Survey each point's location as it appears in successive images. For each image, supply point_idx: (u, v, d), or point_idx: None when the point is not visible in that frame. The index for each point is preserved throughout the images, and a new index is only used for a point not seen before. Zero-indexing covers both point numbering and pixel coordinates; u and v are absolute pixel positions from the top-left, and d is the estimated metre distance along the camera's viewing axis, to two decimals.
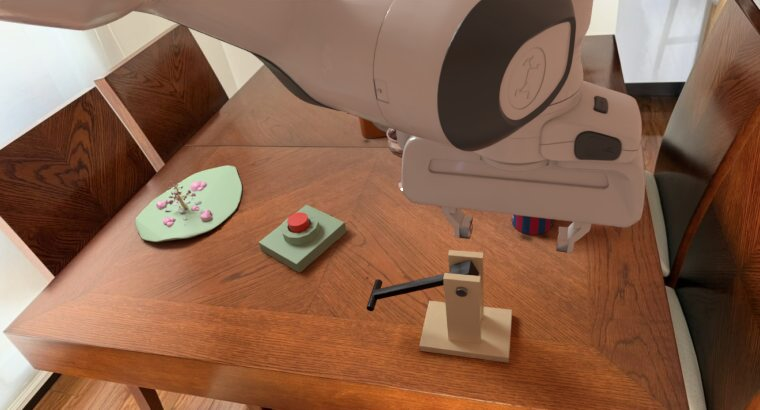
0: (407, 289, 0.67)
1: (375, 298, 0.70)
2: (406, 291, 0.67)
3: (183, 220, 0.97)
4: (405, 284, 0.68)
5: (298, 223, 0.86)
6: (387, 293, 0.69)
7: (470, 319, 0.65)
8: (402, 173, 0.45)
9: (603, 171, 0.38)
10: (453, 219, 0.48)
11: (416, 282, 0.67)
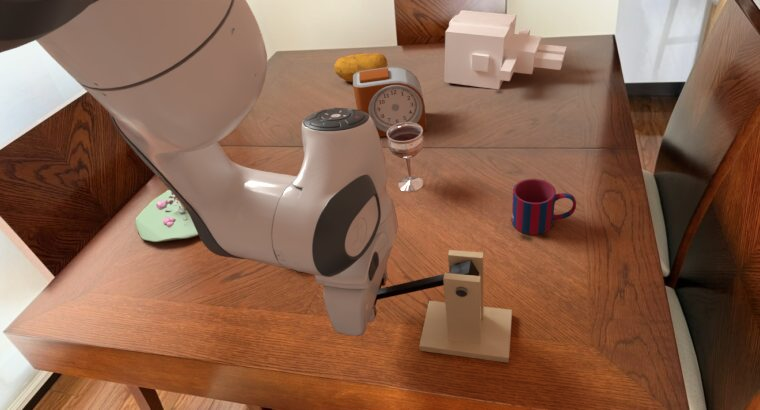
0: (407, 289, 0.67)
1: None
2: (406, 291, 0.67)
3: (183, 220, 0.97)
4: (405, 284, 0.68)
5: None
6: (387, 293, 0.69)
7: (470, 319, 0.65)
8: None
9: None
10: None
11: (416, 282, 0.67)
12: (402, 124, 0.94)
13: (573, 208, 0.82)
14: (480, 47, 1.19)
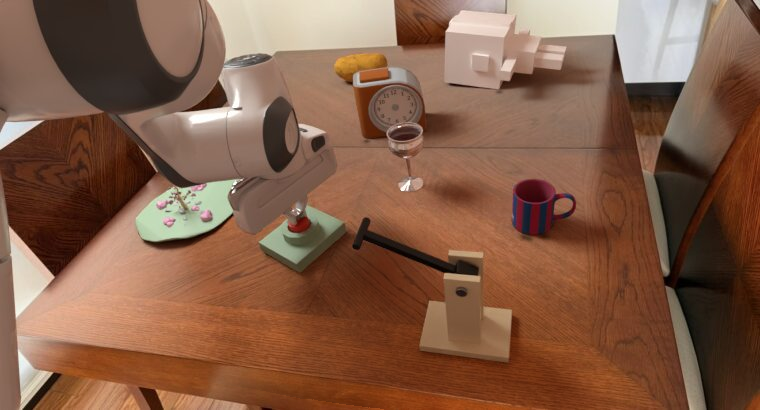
0: (403, 252, 0.63)
1: (363, 238, 0.62)
2: (400, 253, 0.63)
3: (183, 220, 0.97)
4: (403, 246, 0.63)
5: (298, 224, 0.86)
6: (380, 242, 0.62)
7: (470, 319, 0.65)
8: (246, 220, 0.76)
9: (319, 154, 0.83)
10: (292, 214, 0.84)
11: (415, 251, 0.63)
12: (402, 124, 0.94)
13: (573, 208, 0.82)
14: (480, 47, 1.19)
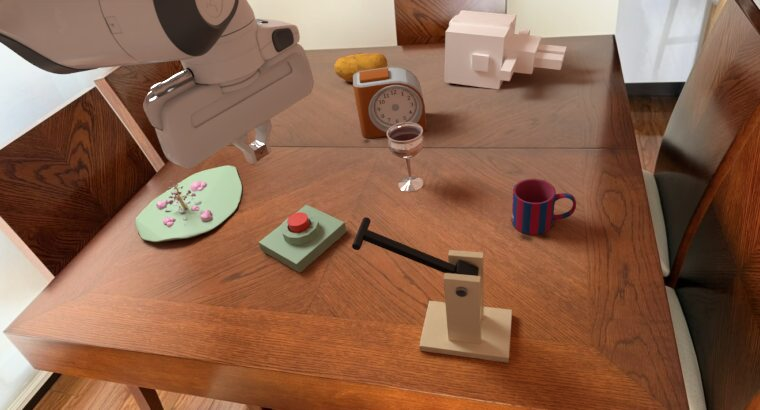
0: (403, 252, 0.63)
1: (363, 238, 0.62)
2: (400, 253, 0.63)
3: (183, 220, 0.97)
4: (403, 246, 0.63)
5: (298, 223, 0.86)
6: (380, 242, 0.62)
7: (470, 319, 0.65)
8: (174, 144, 0.51)
9: (287, 59, 0.59)
10: (248, 146, 0.60)
11: (415, 251, 0.63)
12: (402, 124, 0.94)
13: (573, 208, 0.82)
14: (480, 47, 1.19)
